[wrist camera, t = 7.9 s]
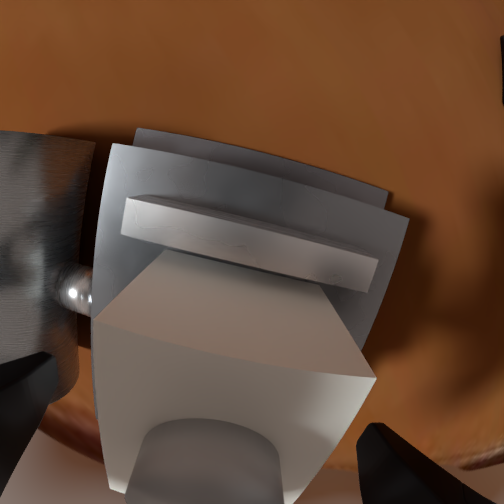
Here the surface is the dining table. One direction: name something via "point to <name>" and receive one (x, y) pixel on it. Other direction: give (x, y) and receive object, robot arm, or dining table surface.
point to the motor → (175, 231)
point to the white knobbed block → (221, 384)
